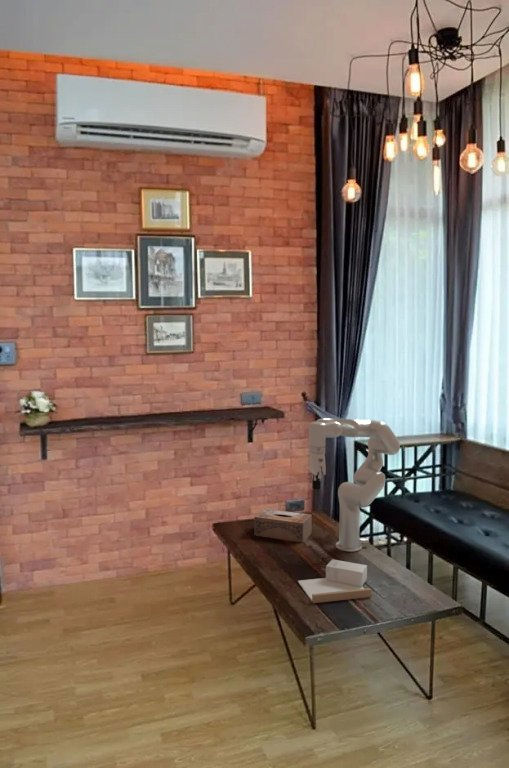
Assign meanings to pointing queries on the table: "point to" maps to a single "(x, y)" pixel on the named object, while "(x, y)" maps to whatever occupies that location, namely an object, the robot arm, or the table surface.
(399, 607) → the table surface
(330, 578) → the skincare box
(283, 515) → the tissue box cover
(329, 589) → the white flat piece
